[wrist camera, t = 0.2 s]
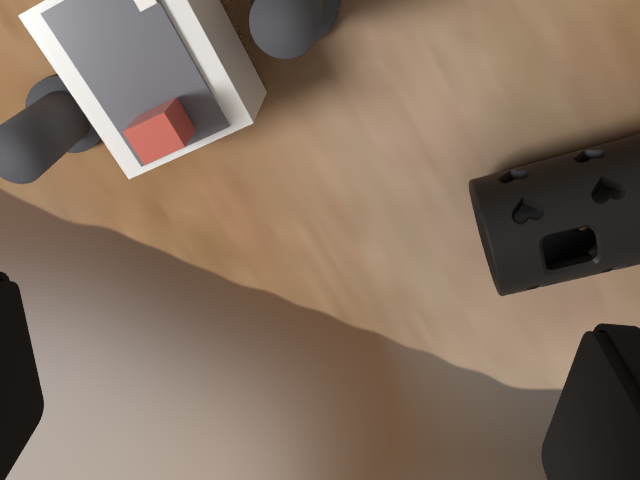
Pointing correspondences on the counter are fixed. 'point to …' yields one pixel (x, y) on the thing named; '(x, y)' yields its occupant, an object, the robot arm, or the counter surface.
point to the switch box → (149, 66)
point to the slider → (160, 131)
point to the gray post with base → (290, 25)
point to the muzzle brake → (561, 216)
